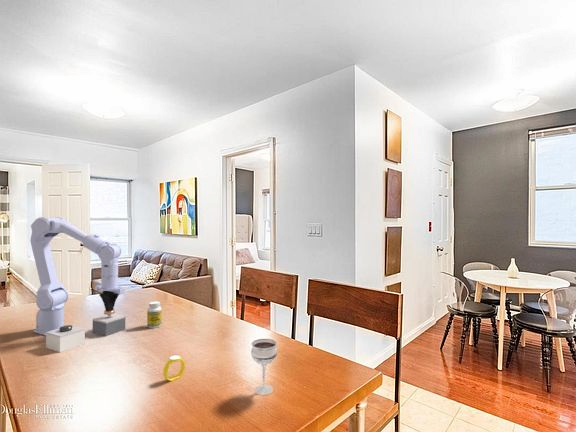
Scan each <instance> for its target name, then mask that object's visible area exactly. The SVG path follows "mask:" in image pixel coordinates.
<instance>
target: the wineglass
mask: <svg viewBox="0 0 576 432" xmlns="http://www.w3.org/2000/svg"><path fill="white" fill-rule="evenodd" d="M277 345H278V343H277V341H276V340H274V339H271V338H259V339H258V338H257V339H256V340H253V341H252V342H251V348H250V349H251V350H250V355H251V358H252V360H253V361H255V362H256V363H257V364H259V365H261V366H262V384H259V385H257V386H255V388H254V389H253V392H254V393H255V394H257V395H259V396H267V395H270V394H272V393H273V392H274V387H273V386H271V385H268V384H266V383H265V381H266V367H267V365H269V364H271V363H272V362H273V361H274V360H275V359H276V357H277V355H278V349H277Z"/></svg>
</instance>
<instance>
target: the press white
mask: <svg viewBox="0 0 576 432" xmlns="http://www.w3.org/2000/svg"><path fill="white" fill-rule="evenodd" d="M71 325H72V330H70V331H65V332H60V331H59V329H55V330H52V331H48V332H46V335H45V348H46V349H49V350H52V351H54V352H58V353H62V352H66V351H67V350H70V349H73V348H76V347H79V346H82V345H85V339H86V337H85V335H86V328H85V327H80V326H77V325H73V324H71Z"/></svg>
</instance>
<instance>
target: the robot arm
mask: <svg viewBox="0 0 576 432" xmlns="http://www.w3.org/2000/svg"><path fill="white" fill-rule="evenodd" d="M30 228H31V235H30V240H29V241H30V246H31V250H32V253H33V258H34V259H33V260H34V263H35V266H36V271H37V275H38V280H39V283H40V287H39V288H38V290H37V291H36V301H35V303H36V306H37V308H38V309H39V310H37V312H36V314H35V315H36V316H35V329H34V330H33V331H32V332H33V333H36V334H38V335H39V334H40V335H43V336H46V332H48V331H52V330H55V329H59V328H60V327H62V326H65V305H66V302H67V301H68V299H69V292H68V291H67V289H65V285H64V284H63V283H62V282H60V281H59V279H58V275H57V270H56V266H55V262H54V258H53V254H52V249H51V246H50V243H51V241H52V240H53V239H54V238H55V237H56V236H58V235H60V234H65V235H67V236H69V237H70V238H73V239H75V240H77V241H79V242H81V243H82V246H83V247H84V248H85V249H87V250H89V251H91V252H92V253H94V254H96V255H97V256H98V258H99V259H100V264H101V269H100V270H101V271H100V273H101V274H100V275H101V277H100V278H101V279H100V284H97V285H95V286H94V287H95V289H94V290H95V291H96V292H97V291H99V292H101V293H99V296H98V297H100V298H101V300H102V302H103V306H104V309H105V310H106V311H108V312H109V311H112V310H113V309H114V308H115V304H116V301H117V299H118V298H119V295H124V294H125V288H124V287H121V286H119V257H120V256H121V253H122V250H121V247H120V246H119V245H117V244H116V243H112V244H111V242H110V241H107V240H104V239H102V238H100V235H98V234H93V233H92V234H87V233H86V232H84V231H82V230H81V229H80V228H77V227H76V226H75V225H74V224H72V223H70V222H69V221H68V220H65V219H63V218H62V217H59V216H56V217H43V216H40V217H38V218H36V219H35V220H34V221H33V222H32V224H30ZM105 310H104V311H105Z"/></svg>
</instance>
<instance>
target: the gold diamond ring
mask: <svg viewBox="0 0 576 432" xmlns="http://www.w3.org/2000/svg"><path fill="white" fill-rule="evenodd" d="M168 359H169V360H168V361H167V362H166V364H165V366H164V368H163V373H162V374H163V376H164V379H166V380H167V381H169V382H174V381H175V380H177V379H179V378H181V377H182V376H183V374H184V372H185V368H186V363H185V361H184V359H183V358H181V356H180V355H172V356H170V357H168ZM179 361H180V365H181V366H180V369H179V372H178V373H177V374H176V375H174V376H172V377H170V378H169V376H168V372H169V371H168V370H169V368H170V366H171V365H172V363H175V362H179Z"/></svg>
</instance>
